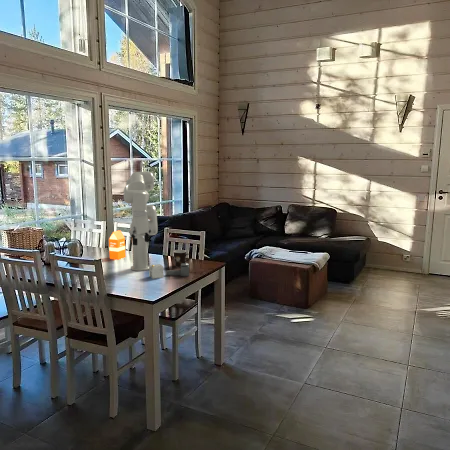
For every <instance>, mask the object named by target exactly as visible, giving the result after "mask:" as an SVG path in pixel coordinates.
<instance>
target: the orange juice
mask: <svg viewBox="0 0 450 450" xmlns="http://www.w3.org/2000/svg"><path fill="white" fill-rule="evenodd" d="M108 250H109V252H108V253H109V259H110V260H116V259H117V261H118V260H122V259H124V258H126V237H125V236H124V234H123V232H122V230H121V229H119V230H116V231H112V233H111V235H110V236H109V238H108ZM121 258H122V259H121Z"/></svg>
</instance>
